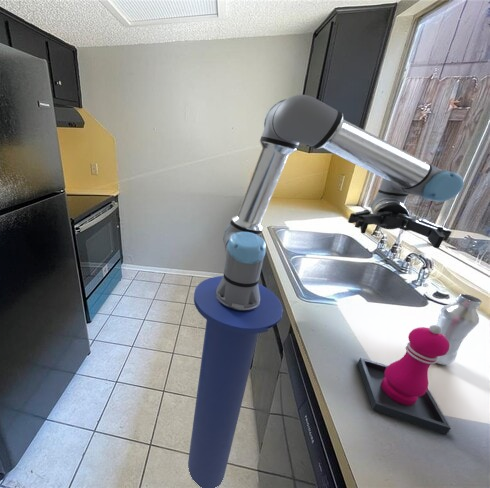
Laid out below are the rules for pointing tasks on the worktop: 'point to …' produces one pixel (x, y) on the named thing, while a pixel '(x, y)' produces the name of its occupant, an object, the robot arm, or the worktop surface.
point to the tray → (418, 413)
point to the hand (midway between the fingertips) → (399, 234)
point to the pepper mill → (414, 365)
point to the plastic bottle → (457, 323)
